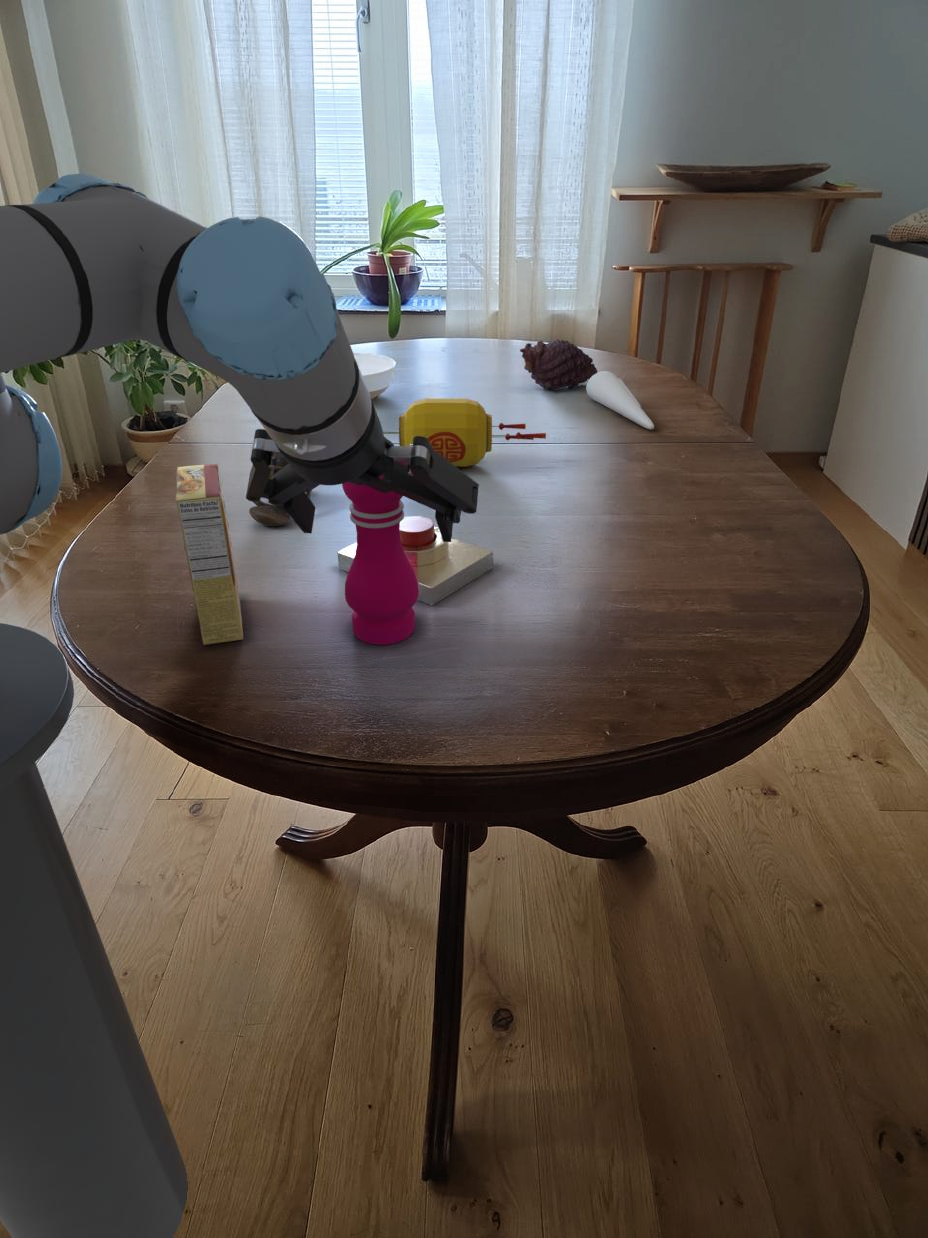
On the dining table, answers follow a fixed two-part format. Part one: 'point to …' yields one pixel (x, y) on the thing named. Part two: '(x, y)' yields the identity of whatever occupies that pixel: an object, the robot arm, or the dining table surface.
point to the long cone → (617, 397)
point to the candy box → (209, 552)
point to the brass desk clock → (272, 506)
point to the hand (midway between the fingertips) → (378, 524)
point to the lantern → (454, 429)
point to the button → (416, 531)
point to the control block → (438, 565)
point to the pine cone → (557, 364)
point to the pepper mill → (379, 568)
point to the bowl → (376, 372)
